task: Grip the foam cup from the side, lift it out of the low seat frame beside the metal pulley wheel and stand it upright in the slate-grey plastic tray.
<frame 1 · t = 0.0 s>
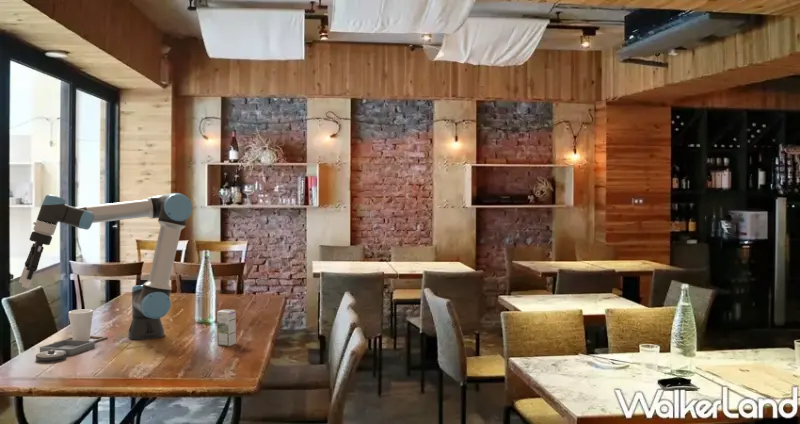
hand: (23, 285, 273), 28 cm above the table, tool tilted 20°, fingers open, 13 cm apart
tray: (67, 350, 284), on the table
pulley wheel: (51, 359, 270), on the table
syrup box: (226, 344, 296), on the table
seat frame: (81, 341, 301), on the table
foam cup: (81, 341, 301), resting in seat frame
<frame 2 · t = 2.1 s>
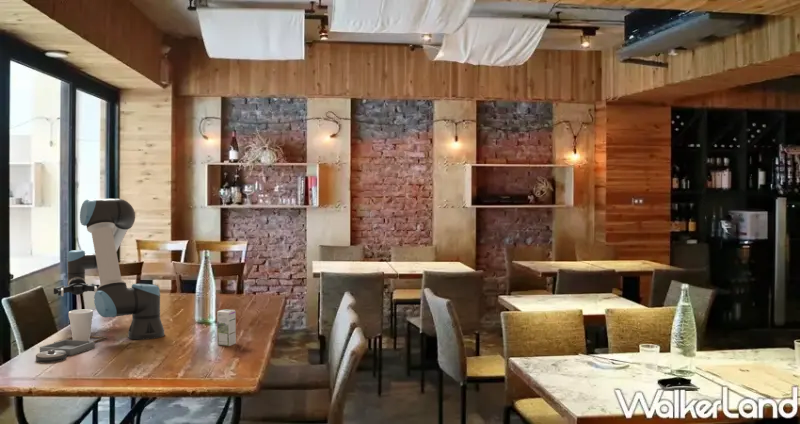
hand: (79, 292, 309), 20 cm above the table, tool horizontal, fingers open, 13 cm apart
nothing on the table moved.
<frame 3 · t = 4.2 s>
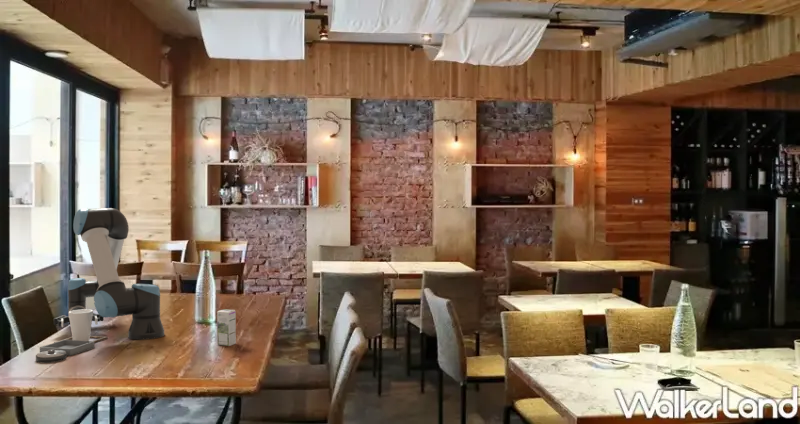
hand: (79, 322, 307), 7 cm above the table, tool horizontal, fingers open, 13 cm apart
nothing on the table moved.
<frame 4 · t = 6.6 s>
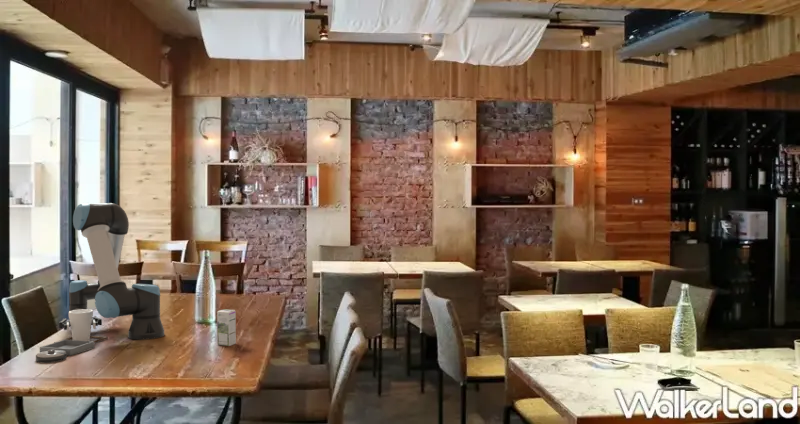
hand: (81, 326, 297), 7 cm above the table, tool horizontal, fingers closed on foam cup, 9 cm apart
foam cup: (81, 341, 301), resting in seat frame, touching gripper
everything else where it was.
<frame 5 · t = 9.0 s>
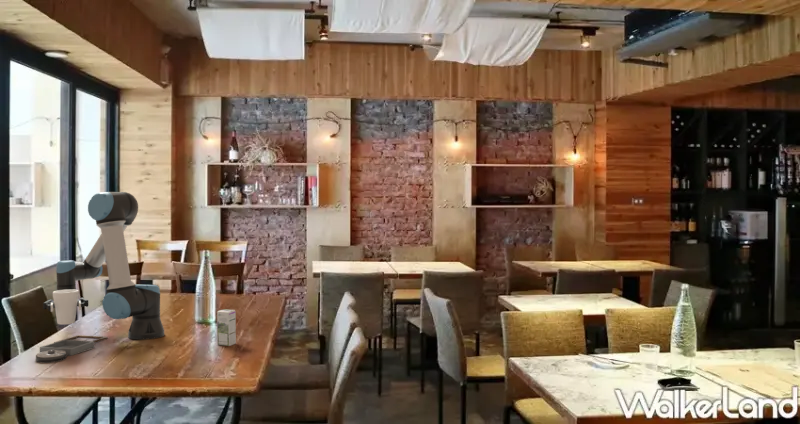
hand: (65, 307, 281), 18 cm above the table, tool horizontal, fingers closed on foam cup, 9 cm apart
foam cup: (66, 323, 286), point 11 cm above the table, touching gripper
everything else where it was.
when the fingers open (9 cm above the table, at t = 11.4 s): foam cup drops 1 cm, resting on tray.
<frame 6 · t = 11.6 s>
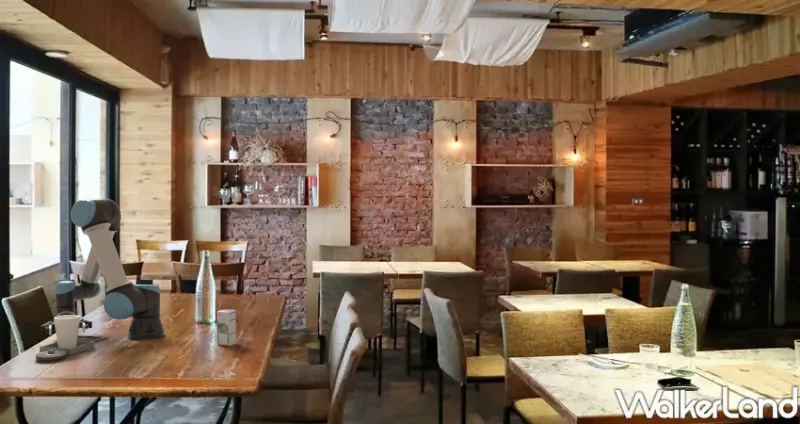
hand: (67, 330, 281), 9 cm above the table, tool horizontal, fingers open, 11 cm apart
foam cup: (67, 349, 284), resting on tray
everything else where it was.
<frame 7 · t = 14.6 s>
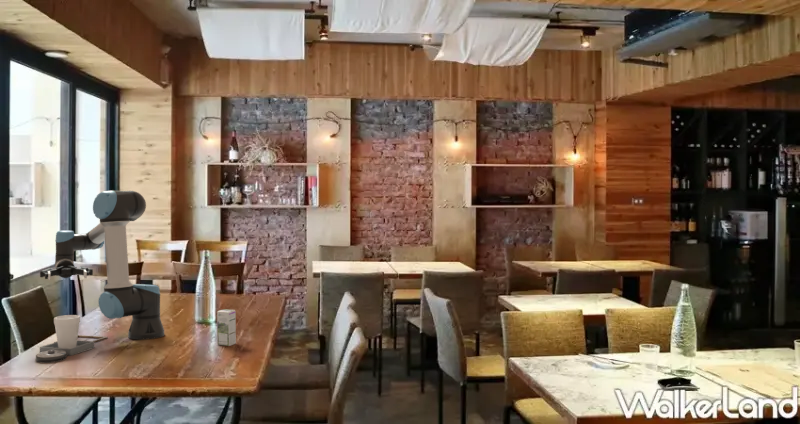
hand: (67, 276, 291), 29 cm above the table, tool horizontal, fingers open, 13 cm apart
nothing on the table moved.
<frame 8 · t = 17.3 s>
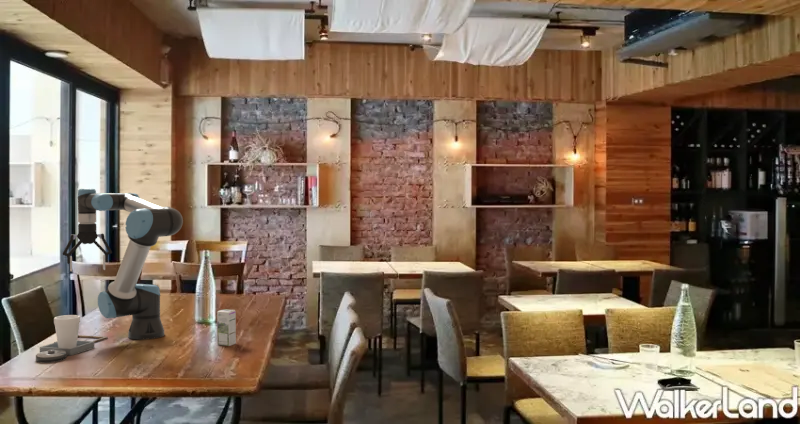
hand: (87, 270, 315), 29 cm above the table, tool pointing down, fingers open, 13 cm apart
nothing on the table moved.
at the end: foam cup inside the target area on the tray (0.1 cm from its centre), point 0.4 cm above the tray's base; foam cup tilted 0°; the gripper is holding nothing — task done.
